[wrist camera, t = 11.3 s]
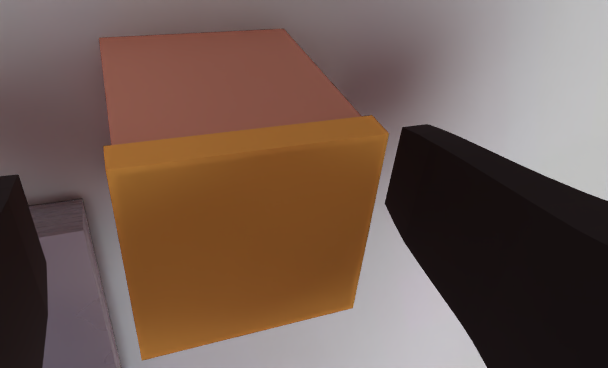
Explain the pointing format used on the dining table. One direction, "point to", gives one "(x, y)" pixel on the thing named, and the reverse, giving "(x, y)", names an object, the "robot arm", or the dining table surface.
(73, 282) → the panel
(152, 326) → the copper lidded box
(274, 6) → the dining table surface
